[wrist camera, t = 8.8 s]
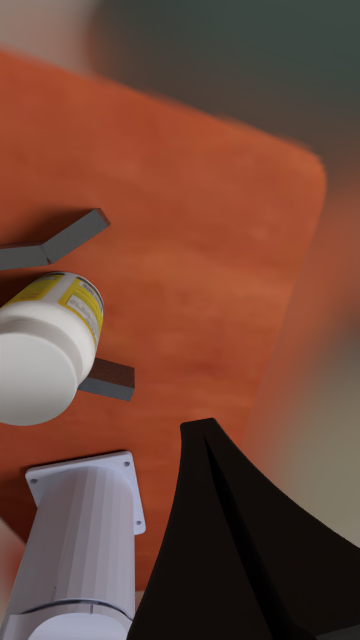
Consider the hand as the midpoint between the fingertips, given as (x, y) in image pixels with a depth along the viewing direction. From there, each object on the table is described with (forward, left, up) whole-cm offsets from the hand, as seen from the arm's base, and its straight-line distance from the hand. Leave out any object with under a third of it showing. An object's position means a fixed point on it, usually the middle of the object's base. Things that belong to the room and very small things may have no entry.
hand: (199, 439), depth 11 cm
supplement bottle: (+3, +6, -10) cm, 12 cm away
